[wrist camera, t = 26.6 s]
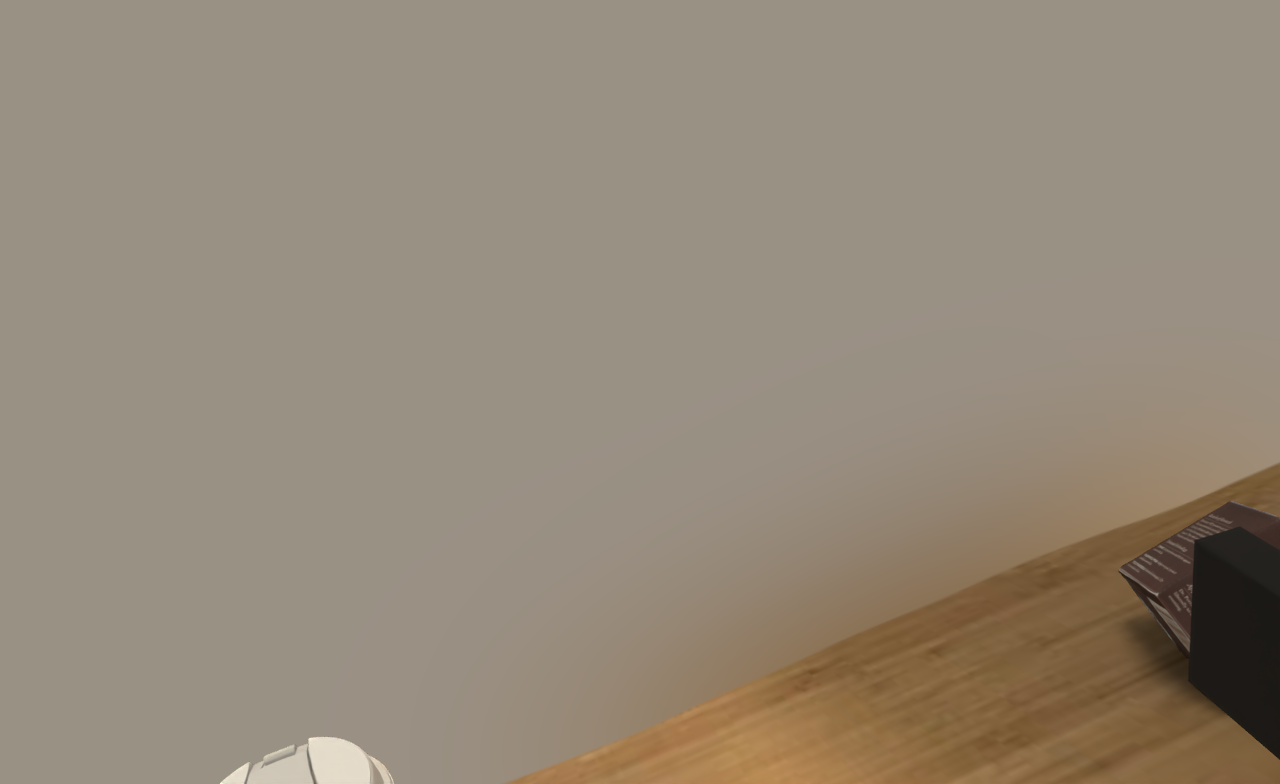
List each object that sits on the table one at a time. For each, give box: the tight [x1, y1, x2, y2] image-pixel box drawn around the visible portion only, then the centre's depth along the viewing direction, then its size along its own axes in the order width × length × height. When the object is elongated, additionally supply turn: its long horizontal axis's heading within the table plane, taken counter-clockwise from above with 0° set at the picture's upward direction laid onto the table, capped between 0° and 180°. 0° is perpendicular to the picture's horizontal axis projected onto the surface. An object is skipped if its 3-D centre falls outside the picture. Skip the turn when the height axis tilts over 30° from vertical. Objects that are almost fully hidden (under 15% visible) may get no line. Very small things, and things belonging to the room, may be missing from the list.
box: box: [1119, 501, 1280, 659], centre depth 47 cm, size 6×6×7 cm
